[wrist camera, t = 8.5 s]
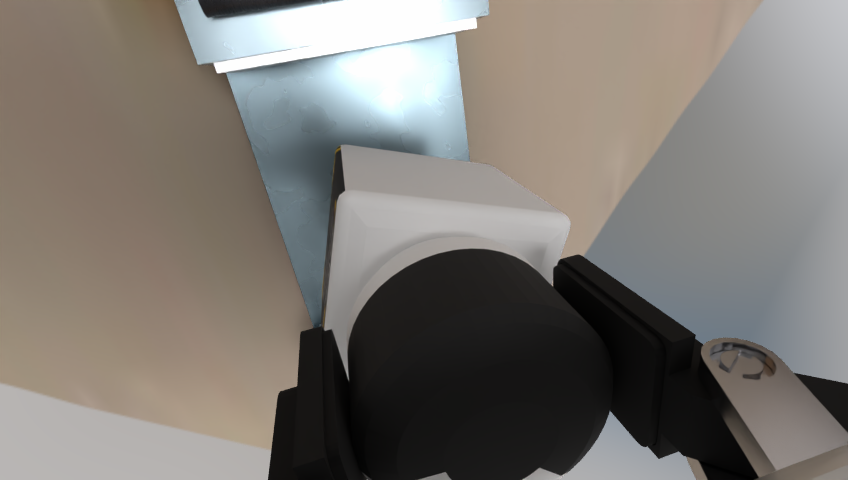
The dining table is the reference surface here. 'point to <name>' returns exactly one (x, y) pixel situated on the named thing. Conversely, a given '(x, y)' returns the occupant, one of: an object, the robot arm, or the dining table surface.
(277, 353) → the dining table surface
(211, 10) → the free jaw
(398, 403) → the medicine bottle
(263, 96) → the base
